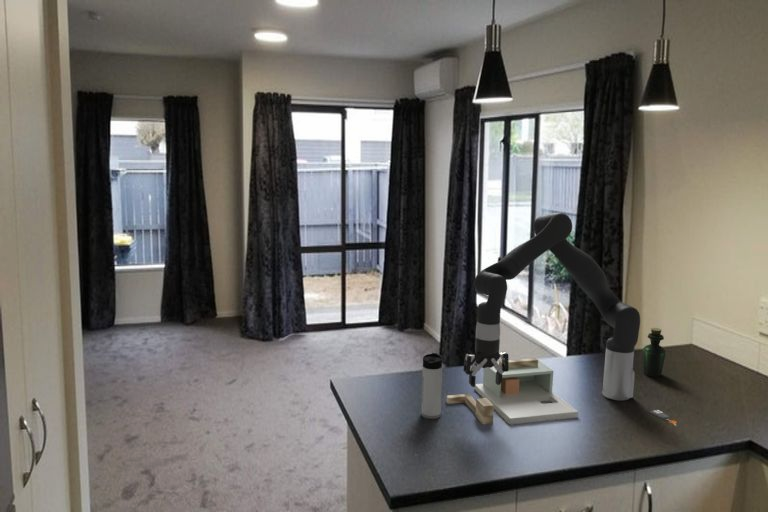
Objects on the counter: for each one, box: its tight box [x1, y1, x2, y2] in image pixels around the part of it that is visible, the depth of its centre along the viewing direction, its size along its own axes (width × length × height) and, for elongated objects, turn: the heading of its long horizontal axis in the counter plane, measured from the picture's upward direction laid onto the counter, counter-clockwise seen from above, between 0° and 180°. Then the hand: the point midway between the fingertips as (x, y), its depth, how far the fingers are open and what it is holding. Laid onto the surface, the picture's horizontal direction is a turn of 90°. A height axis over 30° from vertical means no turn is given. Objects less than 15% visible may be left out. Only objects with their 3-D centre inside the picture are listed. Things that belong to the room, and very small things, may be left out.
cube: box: [501, 377, 519, 394], centre depth 213 cm, size 5×5×5 cm
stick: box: [498, 357, 539, 368], centre depth 215 cm, size 14×2×2 cm, turn 104°
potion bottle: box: [642, 327, 667, 378], centre depth 236 cm, size 8×8×18 cm
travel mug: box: [421, 352, 443, 420], centre depth 196 cm, size 6×7×20 cm
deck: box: [473, 359, 579, 425], centre depth 208 cm, size 24×29×10 cm
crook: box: [446, 393, 495, 425], centre depth 200 cm, size 9×19×6 cm, turn 14°
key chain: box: [650, 409, 678, 427], centre depth 196 cm, size 13×4×2 cm, turn 21°
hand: (485, 385), depth 193 cm, fingers open, 8 cm apart
